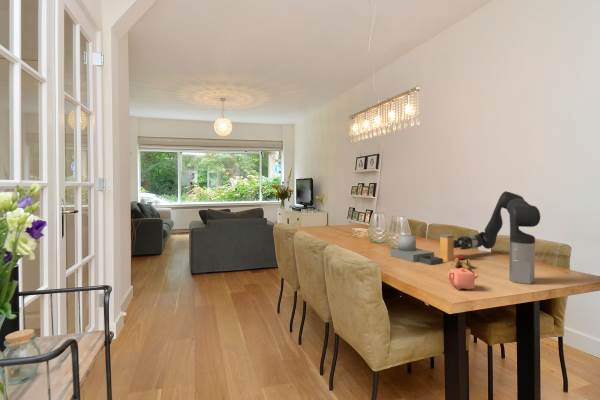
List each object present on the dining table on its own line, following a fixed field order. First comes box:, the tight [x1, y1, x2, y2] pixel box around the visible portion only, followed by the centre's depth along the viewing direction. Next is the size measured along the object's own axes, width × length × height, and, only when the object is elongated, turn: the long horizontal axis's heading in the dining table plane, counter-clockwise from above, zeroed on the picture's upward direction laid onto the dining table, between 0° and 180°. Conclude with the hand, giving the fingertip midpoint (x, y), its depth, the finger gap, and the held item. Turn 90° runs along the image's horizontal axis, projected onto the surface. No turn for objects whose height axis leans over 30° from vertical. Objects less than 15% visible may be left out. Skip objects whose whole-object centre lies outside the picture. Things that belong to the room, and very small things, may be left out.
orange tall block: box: [439, 233, 455, 262], centre depth 189 cm, size 5×5×14 cm
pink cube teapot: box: [447, 267, 480, 291], centre depth 138 cm, size 8×12×8 cm, turn 85°
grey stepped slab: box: [390, 234, 444, 266], centre depth 192 cm, size 16×27×12 cm, turn 26°
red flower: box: [452, 254, 473, 273], centre depth 169 cm, size 8×6×18 cm
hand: (447, 244), depth 190 cm, fingers open, 8 cm apart
